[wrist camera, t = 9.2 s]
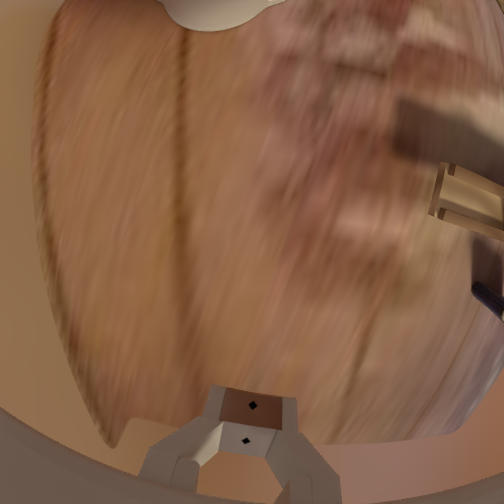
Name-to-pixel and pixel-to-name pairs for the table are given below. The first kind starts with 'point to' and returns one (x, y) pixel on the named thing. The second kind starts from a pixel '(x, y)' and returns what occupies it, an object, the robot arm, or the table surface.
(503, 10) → the ceramic model
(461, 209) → the beam
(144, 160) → the table surface
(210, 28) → the robot arm
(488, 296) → the flask
